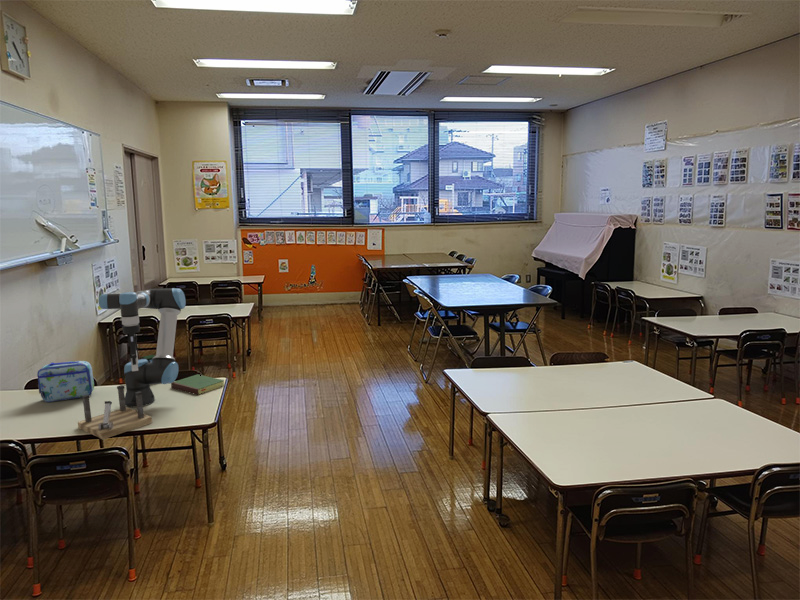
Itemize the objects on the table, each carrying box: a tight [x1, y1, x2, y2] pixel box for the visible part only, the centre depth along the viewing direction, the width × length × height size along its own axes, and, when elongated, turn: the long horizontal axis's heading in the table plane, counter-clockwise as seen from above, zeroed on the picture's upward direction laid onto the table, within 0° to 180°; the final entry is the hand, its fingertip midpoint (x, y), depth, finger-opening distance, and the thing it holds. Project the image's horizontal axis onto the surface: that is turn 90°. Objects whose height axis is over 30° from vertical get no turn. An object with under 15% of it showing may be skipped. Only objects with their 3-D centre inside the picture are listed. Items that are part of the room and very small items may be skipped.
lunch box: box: [36, 360, 95, 403], centre depth 309 cm, size 26×11×21 cm, turn 108°
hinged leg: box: [102, 400, 112, 429], centre depth 260 cm, size 13×3×2 cm
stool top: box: [77, 384, 153, 440], centre depth 269 cm, size 24×24×16 cm
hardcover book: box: [170, 373, 225, 396], centre depth 326 cm, size 25×19×4 cm
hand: (135, 367), depth 269 cm, fingers open, 13 cm apart
